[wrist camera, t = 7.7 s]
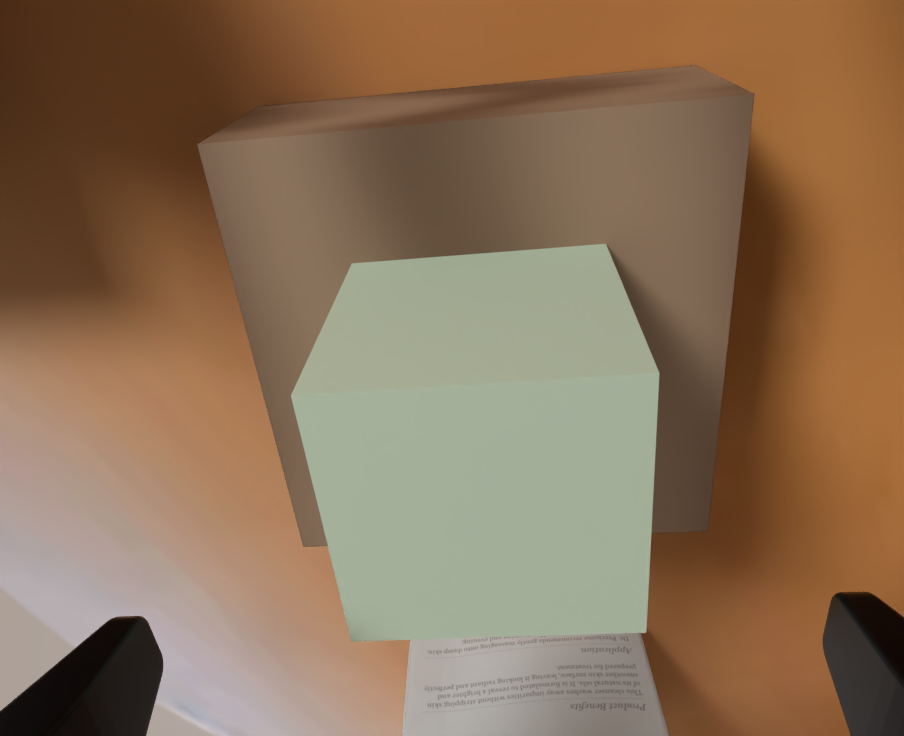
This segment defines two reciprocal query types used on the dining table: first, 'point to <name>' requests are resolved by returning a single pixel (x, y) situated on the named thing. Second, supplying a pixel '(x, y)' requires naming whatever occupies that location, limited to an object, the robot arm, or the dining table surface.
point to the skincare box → (532, 687)
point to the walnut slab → (498, 226)
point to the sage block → (484, 446)
